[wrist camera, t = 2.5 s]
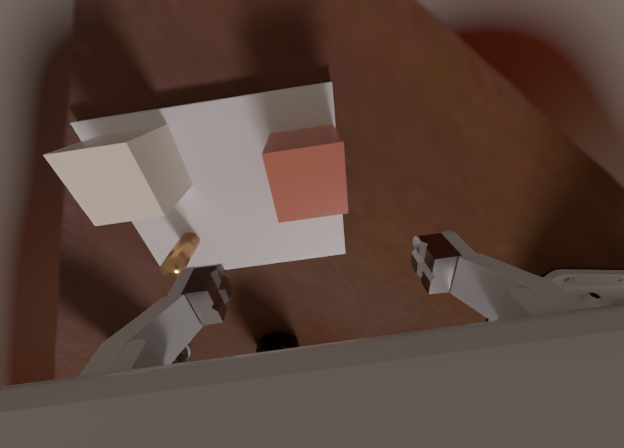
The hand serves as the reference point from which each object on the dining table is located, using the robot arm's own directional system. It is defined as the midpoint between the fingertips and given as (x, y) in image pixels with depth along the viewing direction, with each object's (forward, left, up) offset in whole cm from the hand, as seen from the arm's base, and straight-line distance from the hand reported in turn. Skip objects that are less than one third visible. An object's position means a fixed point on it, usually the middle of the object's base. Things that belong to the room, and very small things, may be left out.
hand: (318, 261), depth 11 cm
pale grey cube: (+14, -2, -15) cm, 21 cm away
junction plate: (+8, +3, -16) cm, 18 cm away
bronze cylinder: (+14, +7, -15) cm, 22 cm away
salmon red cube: (0, 0, -15) cm, 15 cm away
